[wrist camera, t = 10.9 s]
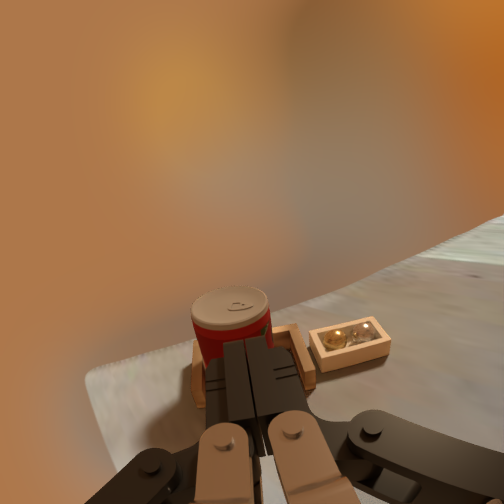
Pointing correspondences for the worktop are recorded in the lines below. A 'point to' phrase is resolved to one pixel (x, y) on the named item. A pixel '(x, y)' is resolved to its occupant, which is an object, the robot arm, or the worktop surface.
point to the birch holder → (281, 337)
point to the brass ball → (334, 340)
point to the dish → (349, 346)
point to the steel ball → (363, 333)
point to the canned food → (230, 319)
